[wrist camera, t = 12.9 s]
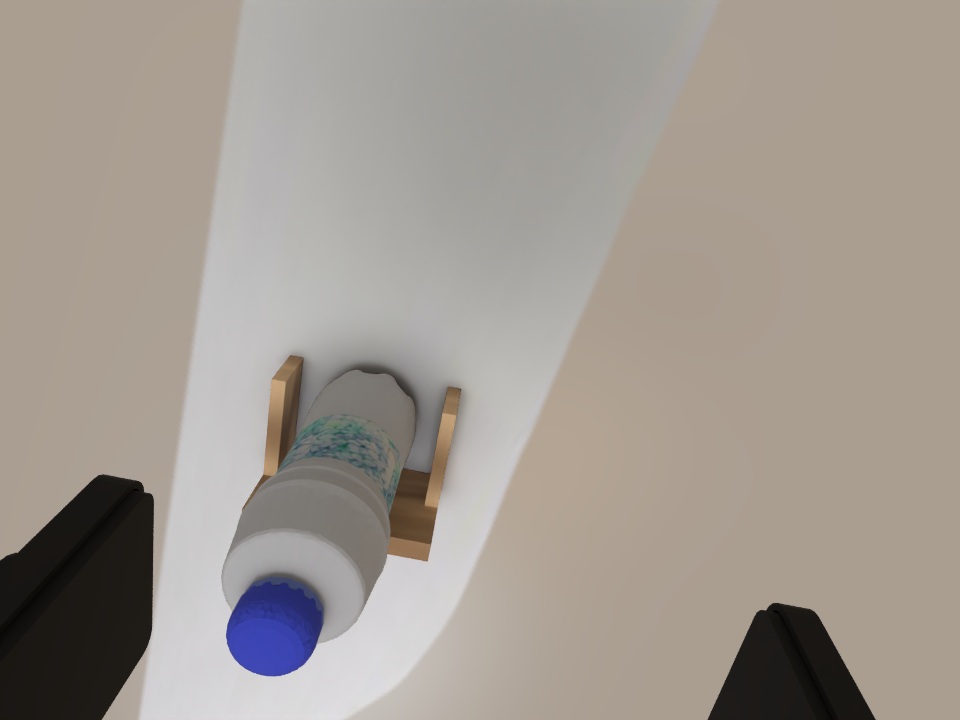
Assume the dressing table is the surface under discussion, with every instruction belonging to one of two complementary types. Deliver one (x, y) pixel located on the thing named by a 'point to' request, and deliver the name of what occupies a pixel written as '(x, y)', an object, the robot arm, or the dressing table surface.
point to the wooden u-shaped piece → (414, 489)
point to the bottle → (318, 526)
